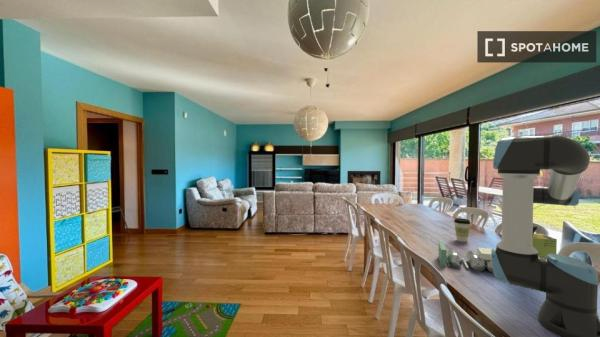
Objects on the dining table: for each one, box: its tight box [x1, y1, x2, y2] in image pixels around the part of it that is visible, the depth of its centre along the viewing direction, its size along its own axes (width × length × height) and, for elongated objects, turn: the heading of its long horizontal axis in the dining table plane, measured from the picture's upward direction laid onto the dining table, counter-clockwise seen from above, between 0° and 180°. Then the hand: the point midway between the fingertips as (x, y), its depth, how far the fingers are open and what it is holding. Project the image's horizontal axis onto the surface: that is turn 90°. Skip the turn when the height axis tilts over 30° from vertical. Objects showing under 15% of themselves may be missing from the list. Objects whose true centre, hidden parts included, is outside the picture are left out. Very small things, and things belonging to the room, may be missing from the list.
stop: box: [438, 241, 447, 268], centre depth 140 cm, size 14×2×9 cm, turn 156°
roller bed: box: [465, 250, 494, 275], centre depth 131 cm, size 14×21×6 cm, turn 66°
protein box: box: [532, 233, 558, 258], centre depth 137 cm, size 10×15×16 cm
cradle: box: [446, 255, 470, 271], centre depth 137 cm, size 14×9×2 cm, turn 156°
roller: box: [446, 249, 463, 268], centre depth 138 cm, size 12×6×6 cm
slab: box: [476, 246, 493, 260], centre depth 129 cm, size 10×16×3 cm, turn 66°
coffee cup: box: [453, 217, 472, 243], centre depth 177 cm, size 10×10×15 cm
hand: (519, 257), depth 126 cm, fingers closed
